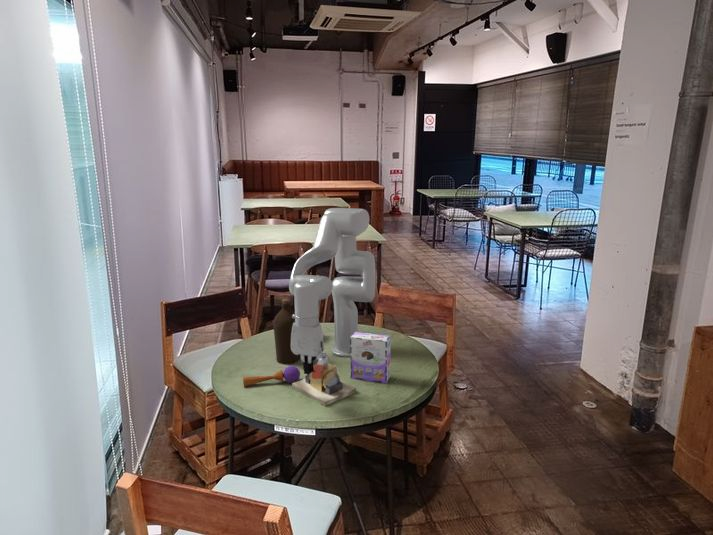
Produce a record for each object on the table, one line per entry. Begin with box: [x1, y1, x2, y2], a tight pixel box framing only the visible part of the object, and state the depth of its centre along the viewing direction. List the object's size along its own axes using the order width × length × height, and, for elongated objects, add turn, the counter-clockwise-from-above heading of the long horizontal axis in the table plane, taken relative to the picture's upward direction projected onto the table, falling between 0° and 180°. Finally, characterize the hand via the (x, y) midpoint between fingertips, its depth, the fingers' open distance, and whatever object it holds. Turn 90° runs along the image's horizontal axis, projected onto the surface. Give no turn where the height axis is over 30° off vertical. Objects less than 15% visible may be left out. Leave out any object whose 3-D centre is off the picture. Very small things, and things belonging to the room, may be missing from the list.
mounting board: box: [291, 377, 357, 407], centre depth 171 cm, size 14×18×2 cm
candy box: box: [349, 331, 391, 384], centre depth 178 cm, size 14×6×16 cm, turn 71°
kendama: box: [242, 365, 301, 388], centre depth 176 cm, size 6×6×20 cm
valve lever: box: [312, 352, 329, 379], centre depth 163 cm, size 14×3×4 cm, turn 174°
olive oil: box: [272, 297, 301, 365], centre depth 192 cm, size 11×11×25 cm
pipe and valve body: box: [304, 362, 343, 395], centre depth 170 cm, size 7×13×7 cm, turn 44°
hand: (308, 372), depth 161 cm, fingers closed
